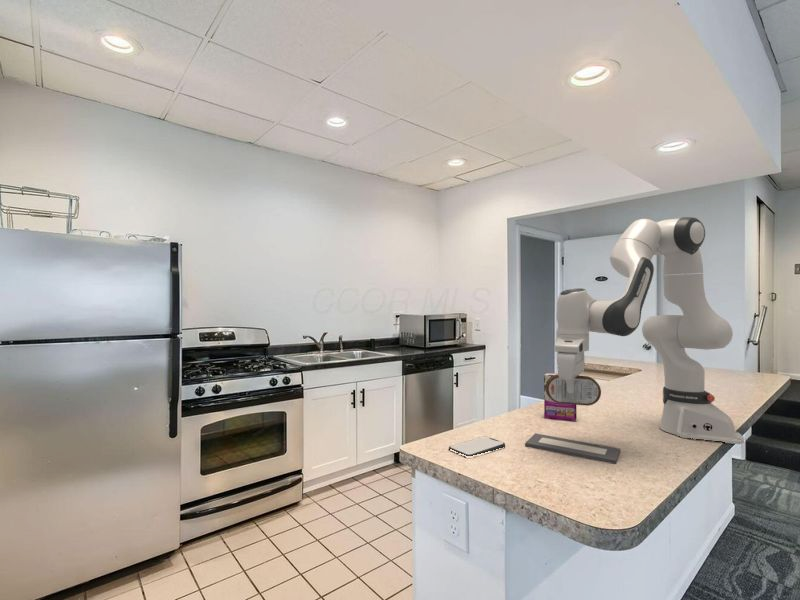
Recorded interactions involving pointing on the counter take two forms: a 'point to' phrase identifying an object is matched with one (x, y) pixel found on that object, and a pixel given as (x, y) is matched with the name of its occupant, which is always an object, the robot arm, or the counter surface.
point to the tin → (583, 393)
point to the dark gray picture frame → (574, 448)
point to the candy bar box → (557, 406)
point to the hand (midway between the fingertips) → (572, 391)
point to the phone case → (477, 446)
